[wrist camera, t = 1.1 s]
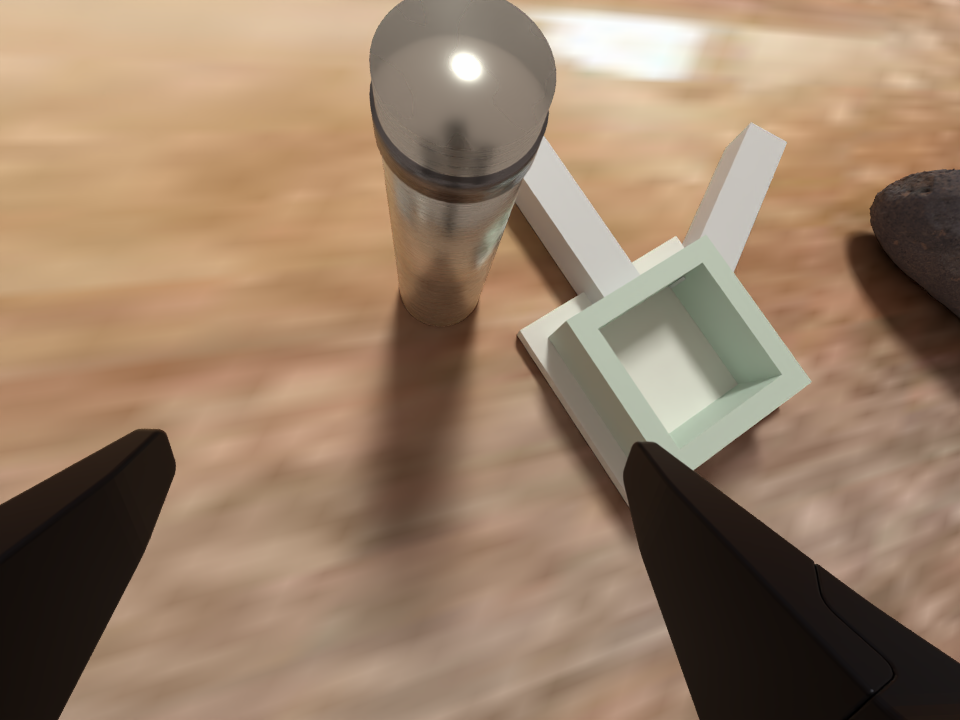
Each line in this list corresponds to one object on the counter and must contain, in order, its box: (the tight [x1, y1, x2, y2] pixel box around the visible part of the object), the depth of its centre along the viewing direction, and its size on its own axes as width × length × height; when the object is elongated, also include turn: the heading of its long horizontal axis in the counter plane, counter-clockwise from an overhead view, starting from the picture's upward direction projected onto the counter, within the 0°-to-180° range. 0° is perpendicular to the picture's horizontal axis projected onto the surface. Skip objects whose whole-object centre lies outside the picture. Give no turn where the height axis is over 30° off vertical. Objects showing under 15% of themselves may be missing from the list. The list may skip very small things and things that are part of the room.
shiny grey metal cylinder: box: [369, 0, 556, 327], centre depth 17 cm, size 4×4×14 cm
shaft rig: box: [515, 123, 812, 506], centre depth 24 cm, size 19×18×4 cm
